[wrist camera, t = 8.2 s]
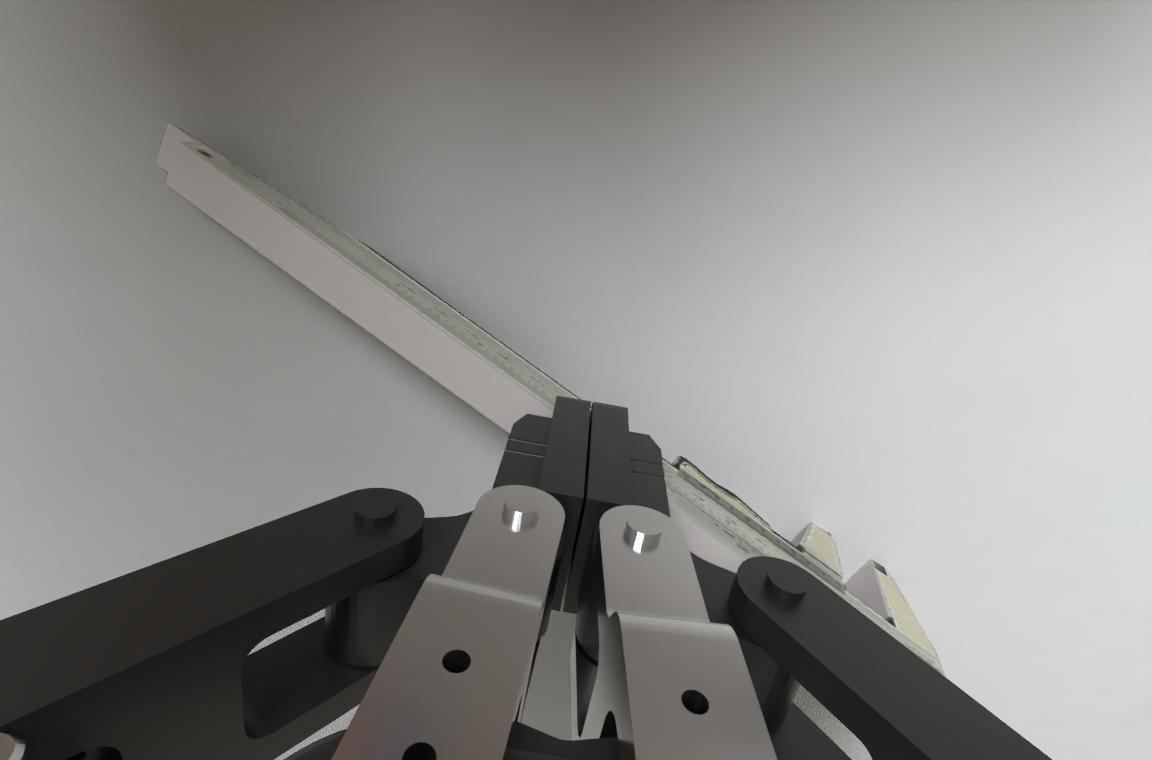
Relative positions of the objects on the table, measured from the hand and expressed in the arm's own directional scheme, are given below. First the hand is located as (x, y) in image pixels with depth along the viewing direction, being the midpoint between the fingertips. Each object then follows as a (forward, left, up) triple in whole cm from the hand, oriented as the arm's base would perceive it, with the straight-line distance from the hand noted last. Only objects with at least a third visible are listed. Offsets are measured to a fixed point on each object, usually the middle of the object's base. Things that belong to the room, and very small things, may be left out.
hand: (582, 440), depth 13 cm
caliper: (0, -1, -3) cm, 3 cm away
